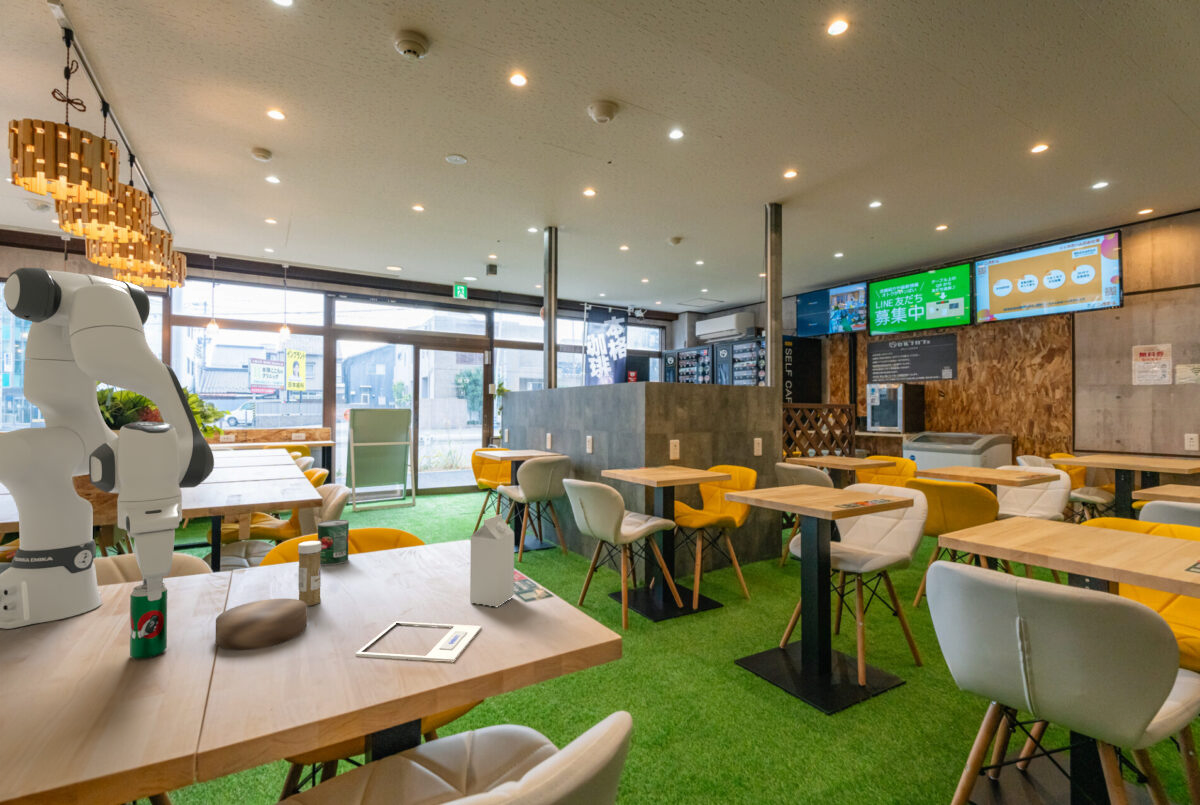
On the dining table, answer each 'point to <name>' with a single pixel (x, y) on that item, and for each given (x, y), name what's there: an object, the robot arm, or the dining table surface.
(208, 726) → the dining table surface
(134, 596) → the soda can
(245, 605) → the walnut riser
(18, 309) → the robot arm
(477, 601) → the milk carton
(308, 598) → the sprinkles bottle
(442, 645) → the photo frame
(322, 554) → the canned tomato
